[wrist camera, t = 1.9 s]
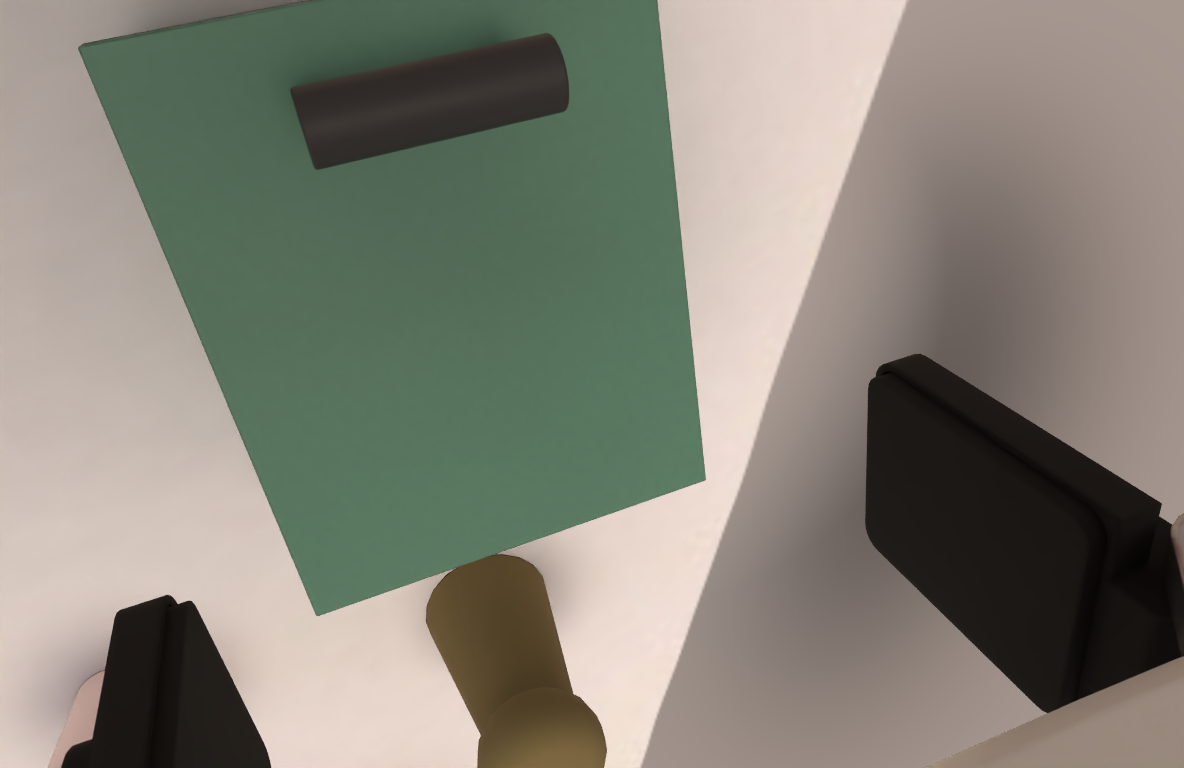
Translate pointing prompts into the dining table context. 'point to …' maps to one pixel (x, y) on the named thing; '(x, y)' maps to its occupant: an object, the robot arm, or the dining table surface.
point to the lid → (423, 265)
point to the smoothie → (79, 719)
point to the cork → (512, 667)
